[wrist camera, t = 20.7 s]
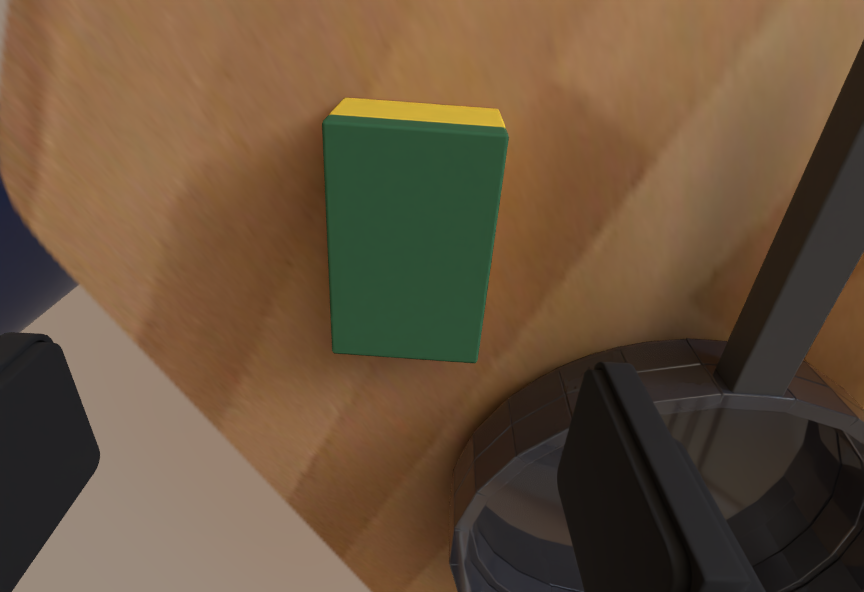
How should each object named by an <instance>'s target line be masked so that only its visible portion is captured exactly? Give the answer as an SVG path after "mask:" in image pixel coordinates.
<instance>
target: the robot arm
mask: <svg viewBox="0 0 864 592" xmlns="http://www.w3.org/2000/svg"><path fill="white" fill-rule="evenodd" d="M99 459H100V451H99V448H98V445H97V442H96V439H95V437H94V434H93V431H92V429H91V426H90V423H89V421H88V418H87V415H86V413H85V410H84V407H83V405H82V402H81V399H80V397H79V394H78V391H77V389H76V386H75V383H74V380H73V378H72V375H71V372H70V370H69V367H68V364H67V362H66V359H65V356H64V354H63V351H62V349H61V347H60V346H59V345H58V344H56V343H53V341H52V339H51V338H50V337H49V336H47V335H44V334H34V333H14V332H10V333H4V334H3V335H1V336H0V592H12V590H13V589H14V588H15V586H16V585H17V583H18V582H19V580H20V579H21V577H22V576H23V575H24V573H25V572H26V570H27V569H28V567H29V566H30V564H31V563H32V562H33V560H34V559H35V557H36V556H37V554H38V553H39V551H40V550H41V549H42V547H43V546H44V544H45V543H46V541H47V540H48V539H49V537H50V536H51V534H52V533H53V531H54V530H55V528H56V527H57V526H58V524H59V523H60V521H61V520H62V518H63V517H64V515H65V514H66V512H67V511H68V509H69V508H70V507H71V505H72V504H73V502H74V501H75V500H76V498H77V497H78V495H79V494H80V492H81V491H82V489H83V488H84V486H85V485H86V484H87V482H88V481H89V479H90V478H91V477H92V475H93V474H94V472H95V470H96V469H97V466H98V463H99ZM557 486H558V491H559V495H560V499H561V503H562V507H563V510H564V514H565V518H566V522H567V526H568V530H569V534H570V537H571V541H572V545H573V549H574V553H575V557H576V561H577V565H578V568H579V572H580V576H581V580H582V584H583V588H584V592H766V591H765V589H764V587H763V586H762V584H761V582H760V580H759V578H758V577H757V575H756V573H755V571H754V570H753V568H752V566H751V564H750V562H749V561H748V559H747V557H746V555H745V553H744V552H743V550H742V548H741V546H740V545H739V543H738V541H737V539H736V537H735V536H734V534H733V532H732V530H731V529H730V527H729V525H728V523H727V521H726V520H725V518H724V516H723V514H722V512H721V511H720V509H719V507H718V505H717V504H716V502H715V500H714V498H713V496H712V495H711V493H710V491H709V489H708V487H707V486H706V484H705V482H704V480H703V479H702V477H701V475H700V473H699V471H698V470H697V468H696V466H695V464H694V462H693V461H692V459H691V457H690V455H689V454H688V452H687V450H686V449H685V447H684V446H683V445H682V443H681V442H679V441H678V440H676V439H673V437H672V436H671V434H670V432H669V430H668V428H667V426H666V425H665V423H664V421H663V419H662V417H661V415H660V414H659V412H658V410H657V408H656V406H655V404H654V403H653V401H652V399H651V397H650V395H649V393H648V392H647V390H646V388H645V386H644V384H643V382H642V381H641V379H640V377H639V375H638V373H637V371H636V370H635V368H634V367H633V365H632V364H630V363H615V362H598V363H597V364H596V365H595V367H594V369H588V370H586V371H585V373H584V376H583V380H582V383H581V387H580V391H579V394H578V398H577V401H576V405H575V409H574V412H573V416H572V419H571V423H570V427H569V430H568V434H567V437H566V441H565V445H564V448H563V452H562V456H561V459H560V463H559V466H558V471H557Z"/></svg>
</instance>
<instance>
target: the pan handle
mask: <svg viewBox="0 0 864 592" xmlns="http://www.w3.org/2000/svg"><path fill="white" fill-rule="evenodd" d="M863 252H864V40H863V42H862V45H861V47H860V49H859V51H858V54H857V56H856V58H855V60H854V62H853V65H852V67H851V69H850V71H849V74H848V76H847V78H846V80H845V82H844V85H843V87H842V89H841V91H840V93H839V96H838V98H837V100H836V102H835V105H834V107H833V109H832V111H831V113H830V116H829V118H828V120H827V122H826V125H825V127H824V129H823V131H822V133H821V136H820V138H819V140H818V142H817V144H816V147H815V149H814V151H813V153H812V156H811V158H810V160H809V162H808V164H807V167H806V169H805V171H804V173H803V175H802V178H801V180H800V182H799V184H798V187H797V189H796V191H795V193H794V195H793V198H792V200H791V202H790V204H789V207H788V209H787V211H786V213H785V215H784V218H783V220H782V222H781V224H780V226H779V229H778V231H777V233H776V235H775V238H774V240H773V242H772V244H771V246H770V249H769V251H768V253H767V255H766V258H765V260H764V262H763V264H762V266H761V269H760V271H759V273H758V275H757V277H756V280H755V282H754V284H753V286H752V289H751V291H750V293H749V295H748V297H747V300H746V302H745V304H744V306H743V309H742V311H741V313H740V315H739V317H738V320H737V322H736V324H735V326H734V328H733V331H732V333H731V335H730V337H729V340H728V342H727V344H726V346H725V348H724V351H723V353H722V355H721V357H720V359H719V362H718V364H717V366H716V370H717V371H718V373H719V374H720V376H721V377H722V379H723V380H724V382H725V383H726V385H727V386H728V387H729V389H730V390H731V391H732V392H734V393H745V394H759V395H773V396H783V395H784V393H785V392H786V390H787V388H788V386H789V385H790V383H791V381H792V379H793V377H794V376H795V374H796V372H797V370H798V368H799V367H800V365H801V363H802V361H803V359H804V358H805V356H806V354H807V352H808V350H809V349H810V347H811V345H812V343H813V342H814V340H815V338H816V336H817V334H818V333H819V331H820V329H821V327H822V325H823V324H824V322H825V320H826V318H827V316H828V315H829V313H830V311H831V309H832V308H833V306H834V304H835V302H836V300H837V299H838V297H839V295H840V293H841V291H842V290H843V288H844V286H845V284H846V282H847V281H848V279H849V277H850V275H851V273H852V272H853V270H854V268H855V266H856V265H857V263H858V261H859V259H860V257H861V256H862V254H863Z"/></svg>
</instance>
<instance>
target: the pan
mask: <svg viewBox="0 0 864 592" xmlns="http://www.w3.org/2000/svg"><path fill="white" fill-rule="evenodd" d="M727 342H728V341H718V340H704V339H690V338H686V339H674V340H662V341H651V342H643V343H637V344H632V345H627V346H621V347H616V348H612V349H609V350H606V351H602V352H599V353H595V354H592V355H588V356H586V357H583V358H581V359H578V360H576V361H573V362H571V363H568V364H566V365H563V366H561V367H559V368H557V369H555V370H553V371H551V372H549V373H547V374H545V375H543V376H542V377H540V378H538V379H536V380H535V381H533V382H532V383H530V384H529V385H527V386H526V387H524V388H523V389H521V390H520V391H518V392H517V393H515V394H513V395H512V396H510V397H509V399H507V400H506V401H505V402H504V403H503V404H502V405H501V406H500V407H499V408H498V409H497V410H496V411H495V412H493V413H492V414H491V415H490V416H489V417H488V418H487V419H486V420H485V421H484V422H483V423H482V424H481V425H480V426H479V427H478V428H477V429H476V430H475V431H474V433H473V434H472V436H471V438H470V440H469V441H468V443H467V445H466V447H465V449H464V451H463V453H462V454H461V456H460V458H459V460H458V462H457V464H456V466H455V467H454V470H453V478H452V485H451V493H450V501H449V565H450V568H451V571H452V574H453V578H454V581H455V584H456V587H457V591H458V592H584V588H583V584H582V580H581V576H580V572H579V568H578V565H577V561H576V557H575V553H574V549H573V545H572V541H571V537H570V534H569V530H568V526H567V522H566V518H565V514H564V510H563V507H562V503H561V499H560V495H559V491H558V486H557V471H558V466H559V463H560V459H561V456H562V452H563V448H564V445H565V441H566V437H567V434H568V430H569V427H570V423H571V419H572V416H573V412H574V409H575V405H576V401H577V398H578V394H579V391H580V387H581V383H582V380H583V376H584V373H585V371H586V370H588V369H594V367H595V365H596V364H597V363H598V362H615V363H630V364H632V365H633V367H634V368H635V370H636V371H637V373H638V375H639V377H640V379H641V381H642V382H643V384H644V386H645V388H646V390H647V392H648V393H649V395H650V397H651V399H652V401H653V403H654V404H655V406H656V408H657V410H658V412H659V414H660V415H661V417H662V419H663V421H664V423H665V425H666V426H667V428H668V430H669V432H670V434H671V436H672V437H673V439H676V440H678V441H679V442H681V443H682V445H683V446H684V447H685V449H686V450H687V452H688V454H689V455H690V457H691V459H692V461H693V462H694V464H695V466H696V468H697V470H698V471H699V473H700V475H701V477H702V479H703V480H704V482H705V484H706V486H707V487H708V489H709V491H710V493H711V495H712V496H713V498H714V500H715V502H716V504H717V505H718V507H719V509H720V511H721V512H722V514H723V516H724V518H725V520H726V521H727V523H728V525H729V527H730V529H731V530H732V532H733V534H734V536H735V537H736V539H737V541H738V543H739V545H740V546H741V548H742V550H743V552H744V553H745V555H746V557H747V559H748V561H749V562H750V564H751V566H752V568H753V570H754V571H755V573H756V575H757V577H758V578H759V580H760V582H761V584H762V586H763V587H764V589H765V591H766V592H864V409H863V408H862V407H861V406H860V405H859V404H858V403H857V402H856V401H855V400H854V399H853V398H852V397H851V396H850V395H849V393H848V392H847V391H846V390H845V389H844V388H842V387H841V386H839V385H838V384H837V383H835V382H834V381H832V380H831V379H830V378H828V377H827V376H825V375H824V374H823V373H821V372H820V371H818V370H817V369H816V368H814V367H813V366H811V365H810V364H809V363H807V362H805V361H802V363H801V365H800V367H799V368H798V370H797V372H796V374H795V376H794V377H793V379H792V381H791V383H790V385H789V386H788V388H787V390H786V392H785V393H784V395H783V396H773V395H759V394H745V393H734V392H732V391H731V390H730V389H729V387H728V386H727V385H726V383H725V382H724V380H723V379H722V377H721V376H720V374H719V373H718V371H717V370H716V366H717V364H718V362H719V359H720V357H721V355H722V353H723V351H724V348H725V346H726V344H727Z"/></svg>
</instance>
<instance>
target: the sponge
mask: <svg viewBox="0 0 864 592" xmlns="http://www.w3.org/2000/svg"><path fill="white" fill-rule="evenodd" d="M322 134H323V156H324V179H325V201H326V223H327V246H328V268H329V290H330V313H331V335H332V351H333V353H338V354H352V355H366V356H380V357H394V358H408V359H422V360H436V361H450V362H464V363H476V362H477V360H478V353H479V346H480V339H481V332H482V325H483V318H484V310H485V303H486V296H487V289H488V282H489V275H490V268H491V261H492V253H493V246H494V239H495V232H496V225H497V218H498V211H499V204H500V197H501V189H502V182H503V175H504V168H505V161H506V154H507V147H508V140H509V137H508V133H507V131H506V128H505V125H504V122H503V120H502V117H501V114H500V112H499V110H498V109H492V108H479V107H465V106H452V105H438V104H425V103H411V102H398V101H385V100H371V99H358V98H344V99H343V100H342V101H341V102H340V103H339V104H338V105H337V106H336V107H335V108H334V109H333V111H332V112H331V113H330V114H329V115H328V116H327V117H326V118H325V119H324V120H323V123H322Z"/></svg>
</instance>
